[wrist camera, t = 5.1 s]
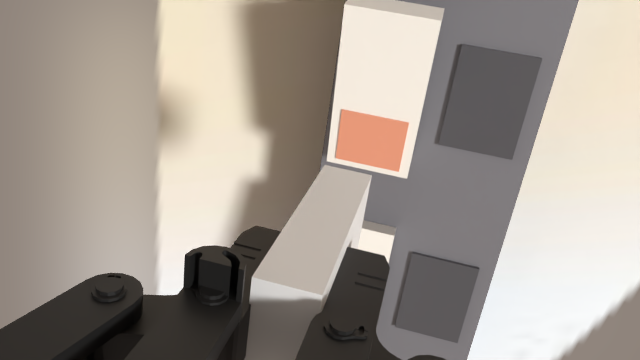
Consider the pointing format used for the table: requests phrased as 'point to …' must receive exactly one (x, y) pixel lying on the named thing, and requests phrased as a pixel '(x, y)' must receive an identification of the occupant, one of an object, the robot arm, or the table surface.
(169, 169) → the table surface
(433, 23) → the block
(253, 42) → the table surface
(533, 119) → the strip
